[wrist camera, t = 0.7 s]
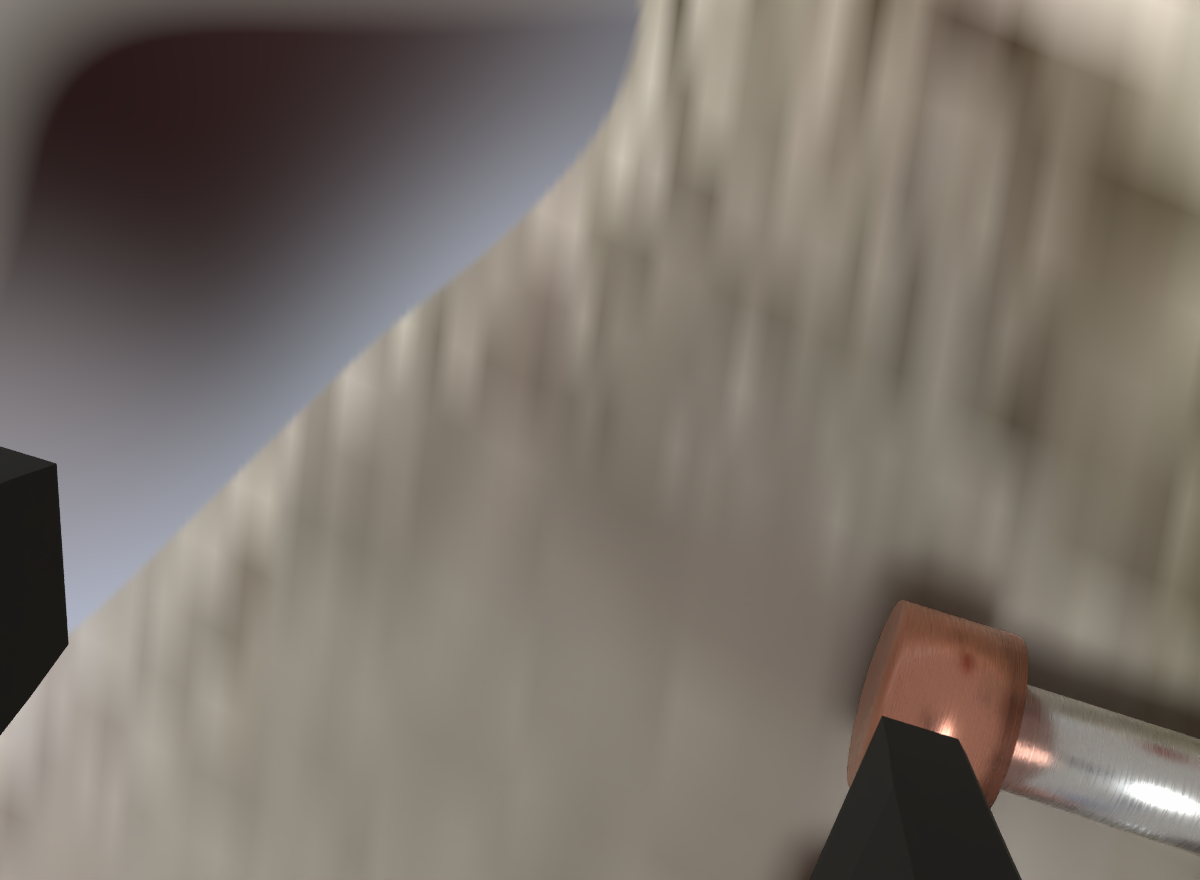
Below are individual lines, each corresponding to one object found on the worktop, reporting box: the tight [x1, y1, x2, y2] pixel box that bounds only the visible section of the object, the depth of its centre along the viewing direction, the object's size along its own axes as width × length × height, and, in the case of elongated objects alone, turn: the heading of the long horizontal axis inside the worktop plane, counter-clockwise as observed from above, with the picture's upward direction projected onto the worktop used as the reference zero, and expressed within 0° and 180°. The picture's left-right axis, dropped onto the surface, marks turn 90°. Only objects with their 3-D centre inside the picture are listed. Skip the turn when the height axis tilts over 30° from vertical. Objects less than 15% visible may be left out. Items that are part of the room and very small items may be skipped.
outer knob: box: [847, 600, 1200, 856], centre depth 22 cm, size 4×12×4 cm, turn 76°
